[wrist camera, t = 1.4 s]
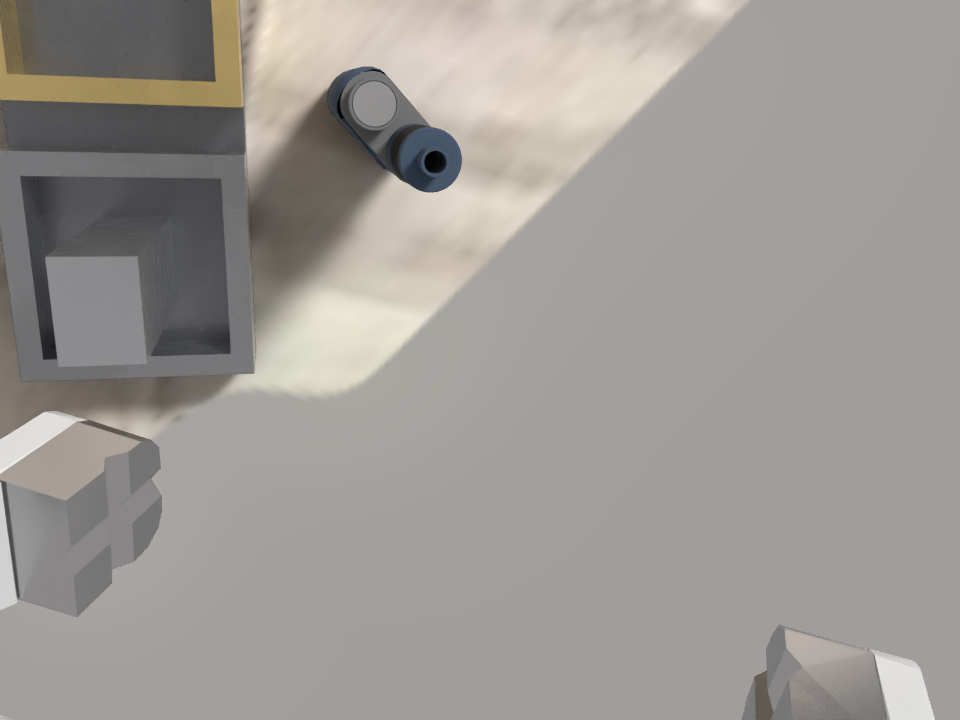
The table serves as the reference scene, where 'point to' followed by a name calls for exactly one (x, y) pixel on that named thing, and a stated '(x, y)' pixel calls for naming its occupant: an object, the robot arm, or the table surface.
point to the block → (112, 290)
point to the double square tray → (129, 166)
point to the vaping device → (394, 129)
